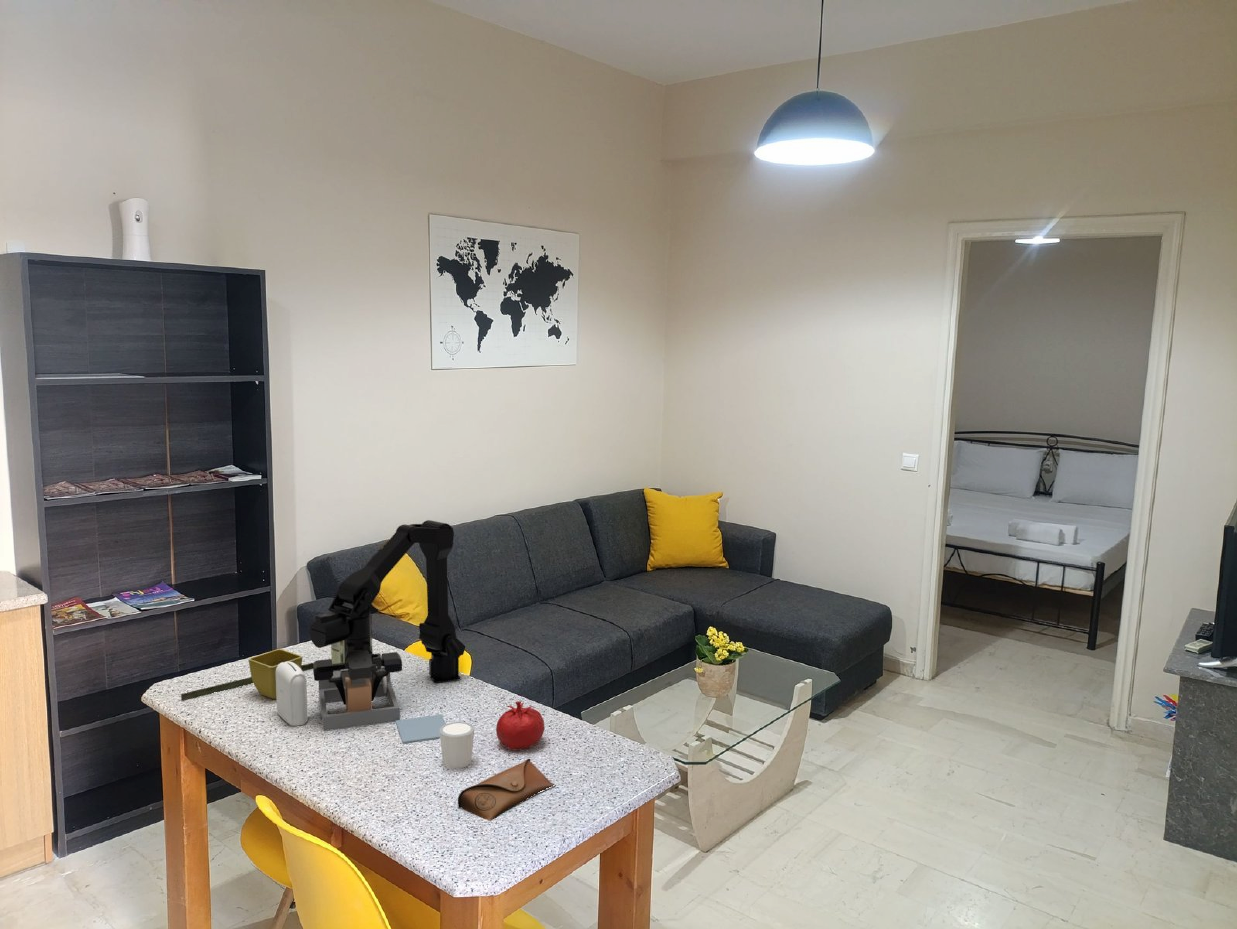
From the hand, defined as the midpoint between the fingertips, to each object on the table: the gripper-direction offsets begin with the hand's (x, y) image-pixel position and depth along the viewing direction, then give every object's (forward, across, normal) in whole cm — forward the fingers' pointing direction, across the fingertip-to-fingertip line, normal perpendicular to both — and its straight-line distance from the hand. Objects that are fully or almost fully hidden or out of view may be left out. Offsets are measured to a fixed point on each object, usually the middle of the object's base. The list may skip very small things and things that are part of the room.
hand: (358, 702), depth 198 cm
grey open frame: (+2, 0, 0) cm, 2 cm away
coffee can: (+2, +1, +28) cm, 28 cm away
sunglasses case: (+3, +22, -47) cm, 52 cm away
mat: (+2, +12, -14) cm, 19 cm away
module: (+2, 0, 0) cm, 2 cm away
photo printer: (+2, -14, +1) cm, 14 cm away
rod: (+2, -23, +24) cm, 34 cm away
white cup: (+2, +16, -31) cm, 35 cm away
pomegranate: (+2, +30, -27) cm, 40 cm away
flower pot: (+2, -17, +16) cm, 23 cm away
